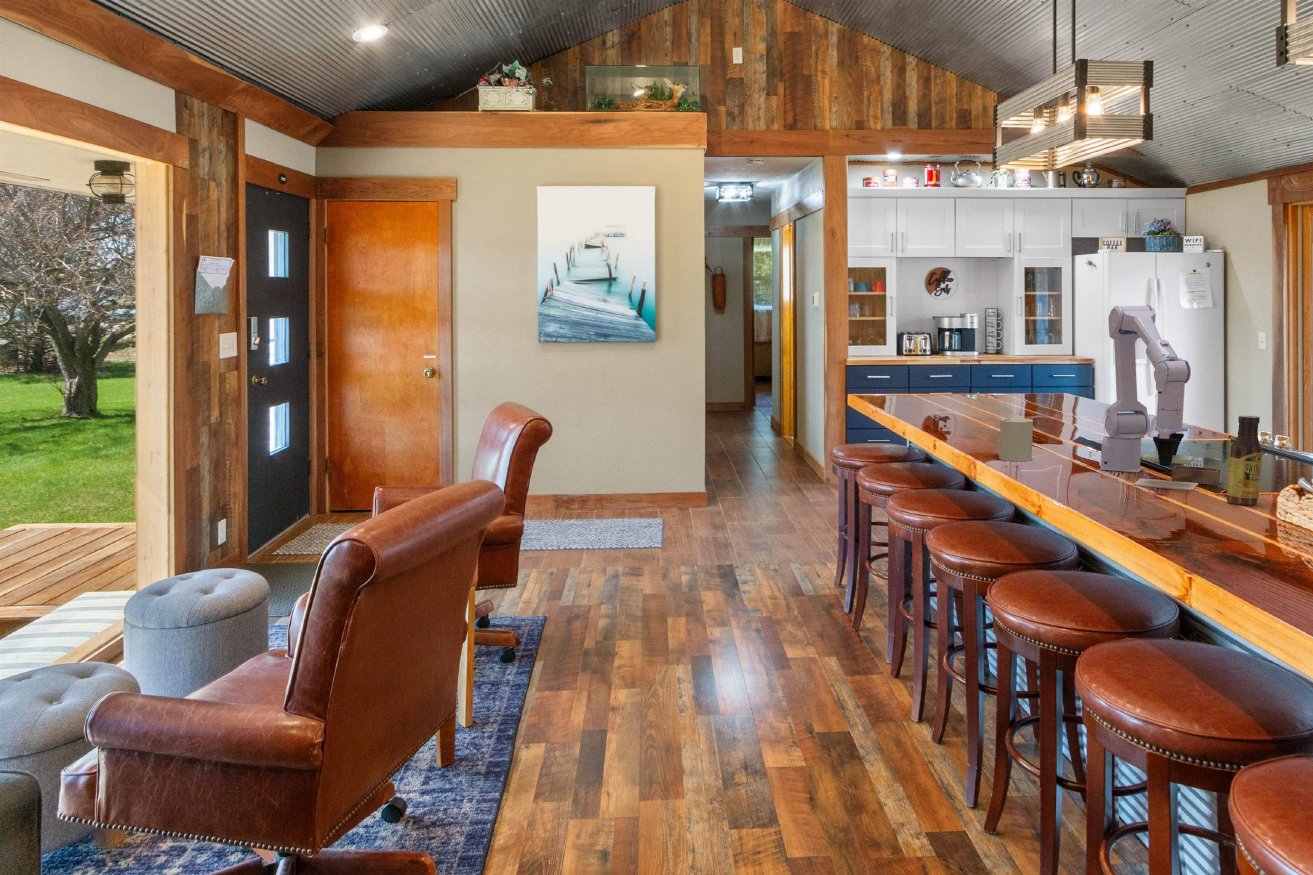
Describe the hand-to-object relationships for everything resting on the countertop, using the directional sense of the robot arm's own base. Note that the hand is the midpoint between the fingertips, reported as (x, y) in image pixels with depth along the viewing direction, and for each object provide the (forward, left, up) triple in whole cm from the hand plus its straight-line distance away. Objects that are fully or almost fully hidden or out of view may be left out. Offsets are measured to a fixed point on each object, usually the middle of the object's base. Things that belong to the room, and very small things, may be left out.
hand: (1167, 464), depth 237 cm
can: (-43, +22, -6) cm, 48 cm away
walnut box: (+5, +8, -5) cm, 11 cm away
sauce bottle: (+17, -14, -6) cm, 23 cm away
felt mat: (0, 0, -5) cm, 5 cm away
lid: (0, 0, +1) cm, 1 cm away
